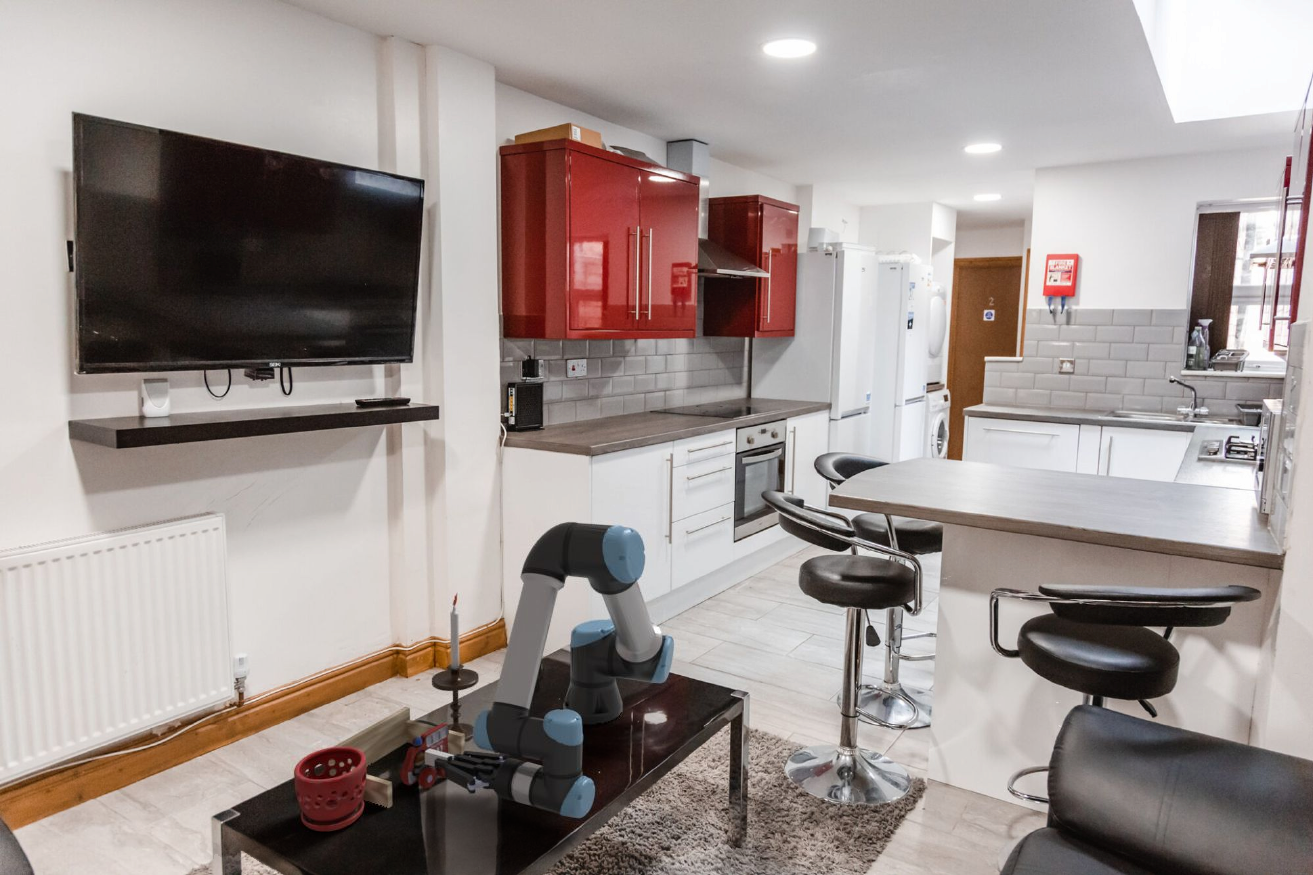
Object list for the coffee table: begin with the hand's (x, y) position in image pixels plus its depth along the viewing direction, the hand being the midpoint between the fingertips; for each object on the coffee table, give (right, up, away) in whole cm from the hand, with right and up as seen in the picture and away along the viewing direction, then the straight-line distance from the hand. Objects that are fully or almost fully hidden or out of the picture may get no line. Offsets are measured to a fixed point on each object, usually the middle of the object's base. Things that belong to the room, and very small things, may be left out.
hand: (427, 756), depth 174 cm
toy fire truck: (-1, -6, +3) cm, 7 cm away
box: (-8, -6, +6) cm, 12 cm away
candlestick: (0, -4, +23) cm, 24 cm away
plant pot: (-15, -8, -12) cm, 21 cm away
